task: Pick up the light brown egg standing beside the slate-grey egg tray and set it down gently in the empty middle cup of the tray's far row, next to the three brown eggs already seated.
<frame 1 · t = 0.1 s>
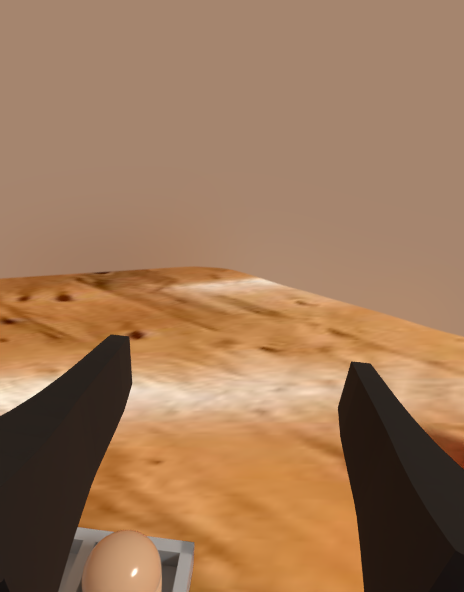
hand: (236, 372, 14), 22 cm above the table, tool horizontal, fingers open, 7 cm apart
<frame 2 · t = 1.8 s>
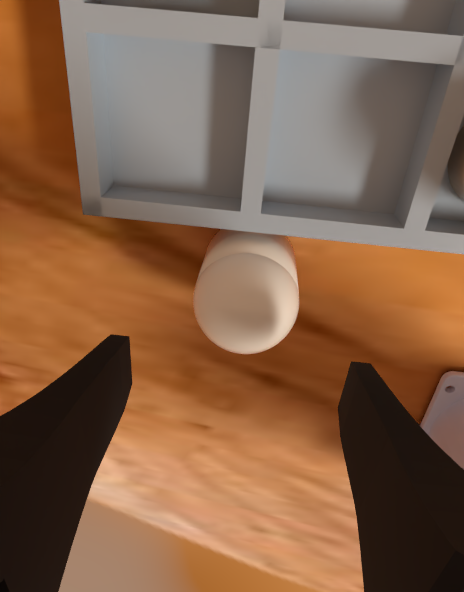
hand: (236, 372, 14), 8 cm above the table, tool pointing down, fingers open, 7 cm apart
egg tray: (356, 42, 16), on the table
light brown egg: (250, 262, 21), on the table
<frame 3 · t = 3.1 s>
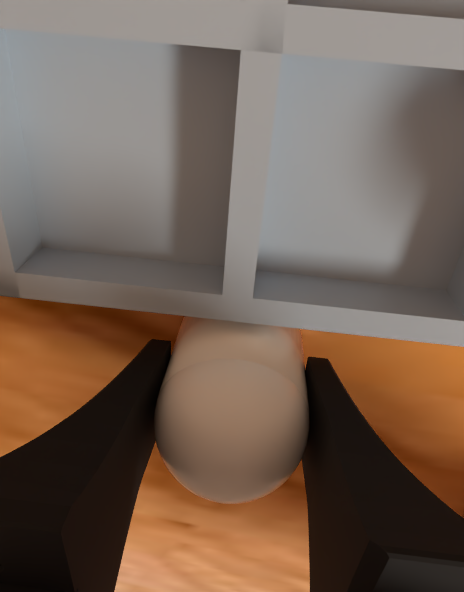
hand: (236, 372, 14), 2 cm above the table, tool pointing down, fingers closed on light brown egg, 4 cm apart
egg tray: (398, 42, 10), on the table
light brown egg: (240, 342, 15), on the table, touching gripper
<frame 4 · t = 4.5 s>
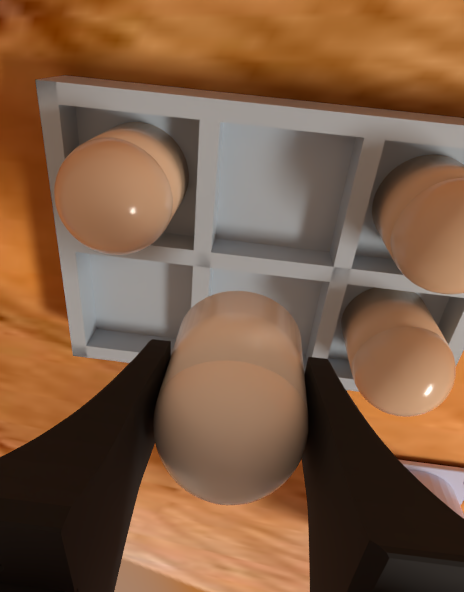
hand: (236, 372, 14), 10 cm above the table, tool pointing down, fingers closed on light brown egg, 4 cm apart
brown egg 3: (141, 173, 19), point 1 cm above the table, touching egg tray
egg tray: (271, 244, 22), on the table
light brown egg: (239, 343, 15), point 8 cm above the table, touching gripper
brown egg 1: (383, 321, 22), point 1 cm above the table, touching egg tray
brown egg 2: (422, 204, 19), point 1 cm above the table, touching egg tray
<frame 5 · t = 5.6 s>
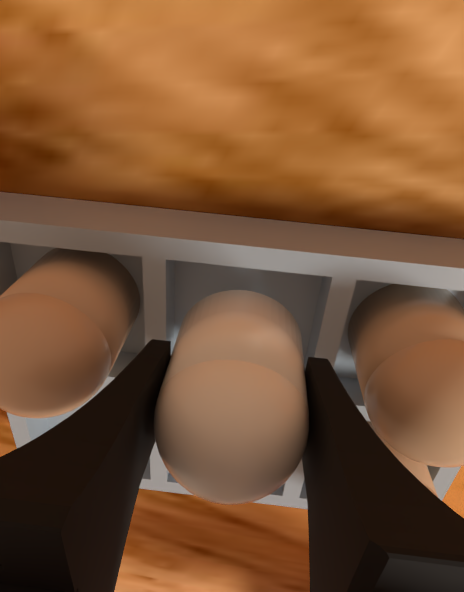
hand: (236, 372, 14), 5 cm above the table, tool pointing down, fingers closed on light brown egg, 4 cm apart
brown egg 3: (86, 294, 17), point 1 cm above the table, touching egg tray
egg tray: (238, 357, 19), on the table
light brown egg: (239, 342, 15), point 3 cm above the table, touching gripper
brown egg 1: (365, 438, 20), point 1 cm above the table, touching egg tray
brown egg 2: (404, 329, 17), point 1 cm above the table, touching egg tray
when the fingers open (4 cm above the table, at t = 6.2 s): light brown egg drops 1 cm, resting on egg tray.
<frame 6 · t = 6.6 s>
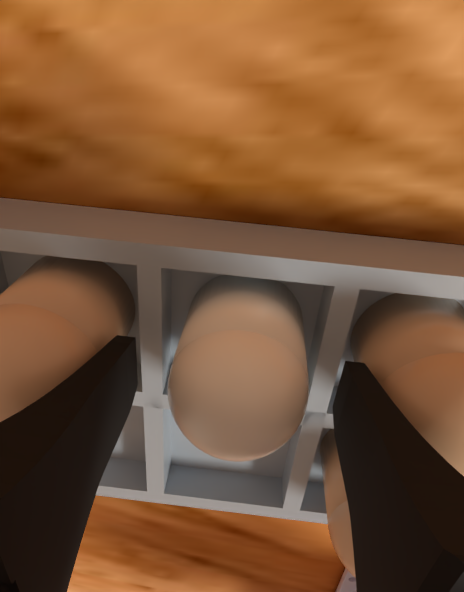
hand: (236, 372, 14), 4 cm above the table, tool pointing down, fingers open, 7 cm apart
brown egg 3: (80, 302, 17), point 1 cm above the table, touching egg tray, gripper
egg tray: (237, 366, 19), on the table
light brown egg: (245, 321, 16), point 1 cm above the table, touching egg tray
brown egg 1: (368, 449, 20), point 1 cm above the table, touching egg tray
brown egg 2: (409, 338, 16), point 1 cm above the table, touching egg tray, gripper
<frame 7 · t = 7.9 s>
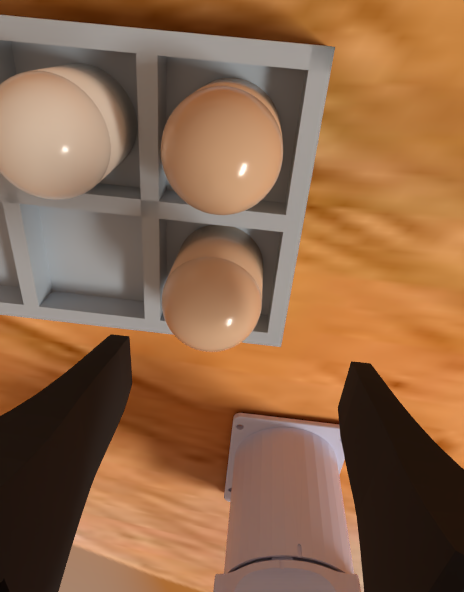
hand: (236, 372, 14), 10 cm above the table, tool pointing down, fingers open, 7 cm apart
egg tray: (99, 184, 21), on the table
light brown egg: (87, 120, 19), point 1 cm above the table, touching egg tray
brown egg 1: (220, 264, 22), point 1 cm above the table, touching egg tray
brown egg 2: (230, 134, 18), point 1 cm above the table, touching egg tray
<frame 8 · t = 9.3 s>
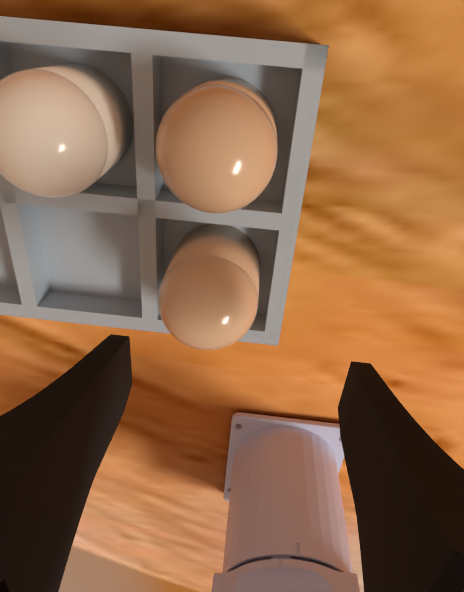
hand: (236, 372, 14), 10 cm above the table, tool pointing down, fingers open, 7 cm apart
egg tray: (96, 184, 21), on the table
light brown egg: (83, 120, 19), point 1 cm above the table, touching egg tray
brown egg 1: (217, 263, 22), point 1 cm above the table, touching egg tray
brown egg 2: (226, 133, 18), point 1 cm above the table, touching egg tray
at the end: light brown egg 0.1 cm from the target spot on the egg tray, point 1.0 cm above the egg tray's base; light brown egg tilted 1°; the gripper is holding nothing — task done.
